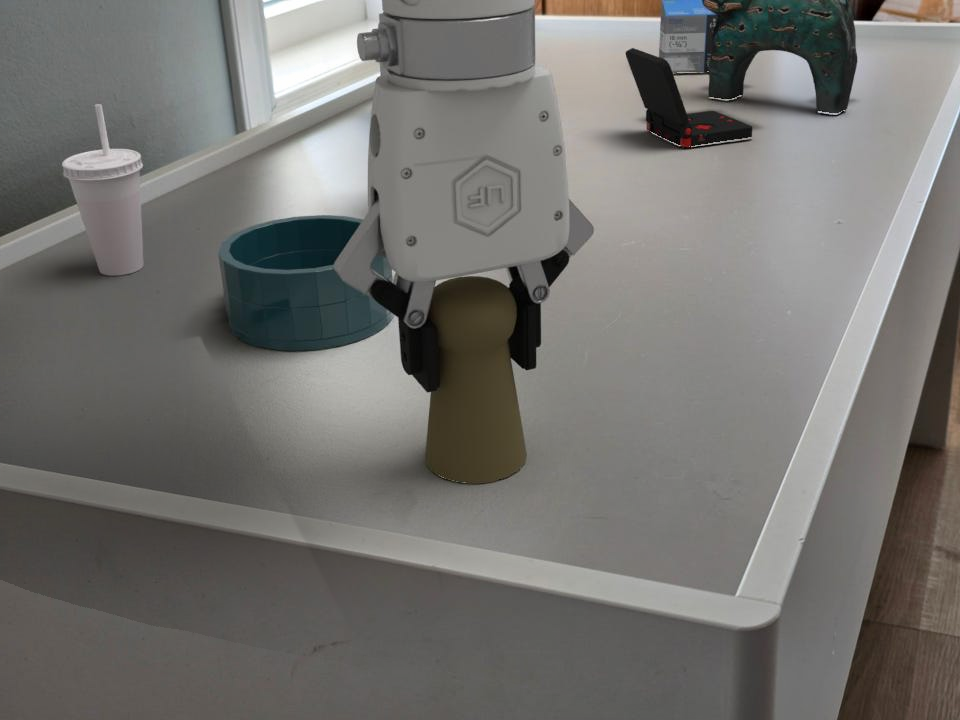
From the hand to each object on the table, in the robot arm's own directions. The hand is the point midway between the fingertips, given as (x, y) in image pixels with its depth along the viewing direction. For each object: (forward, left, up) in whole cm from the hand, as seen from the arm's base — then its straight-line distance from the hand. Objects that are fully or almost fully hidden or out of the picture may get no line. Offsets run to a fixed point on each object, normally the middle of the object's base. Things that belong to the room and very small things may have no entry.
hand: (472, 368), depth 64 cm
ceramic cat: (+68, +63, -6) cm, 93 cm away
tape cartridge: (+70, +85, -6) cm, 110 cm away
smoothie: (-15, +43, -6) cm, 46 cm away
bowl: (-3, +25, -6) cm, 26 cm away
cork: (0, 0, -6) cm, 6 cm away
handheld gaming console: (+50, +55, -6) cm, 75 cm away
